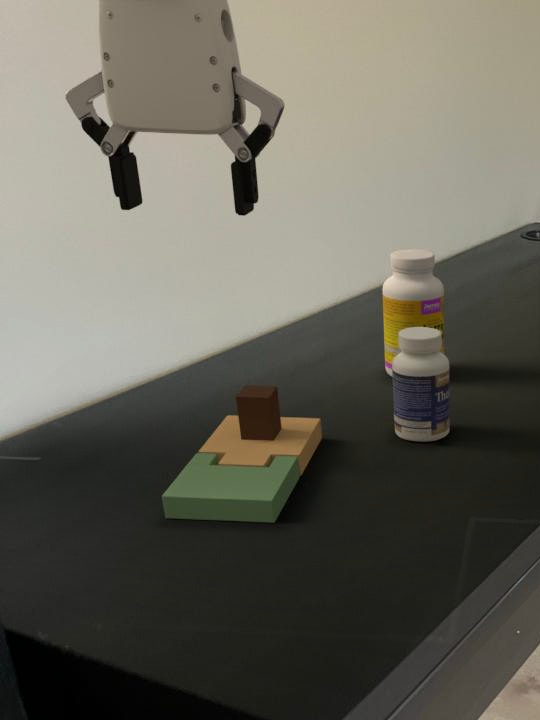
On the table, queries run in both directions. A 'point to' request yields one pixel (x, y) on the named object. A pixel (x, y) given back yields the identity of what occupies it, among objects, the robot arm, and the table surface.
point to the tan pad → (264, 450)
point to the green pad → (231, 490)
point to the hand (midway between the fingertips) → (188, 210)
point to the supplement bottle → (411, 299)
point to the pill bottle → (421, 386)
